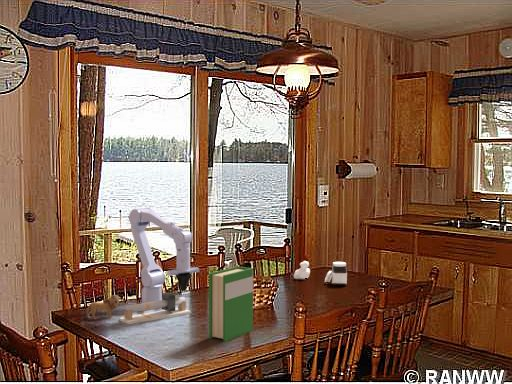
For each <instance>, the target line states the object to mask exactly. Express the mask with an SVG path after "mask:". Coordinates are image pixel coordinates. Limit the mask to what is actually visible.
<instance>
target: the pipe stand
mask: <svg viewBox="0 0 512 384" xmlns="http://www.w3.org/2000/svg"><path fill="white" fill-rule="evenodd" d="M186 302H187V300H186V298H185V296H182V297H181V296H180V297H175V306H177V307H175V311H171V312H168V311H166V310H163V309H162V307H168V300H167V299H166V300H160V301H154V302H146V303H142V302H141V303H135V304H129V305H124V308H123V309H124V312H123V313H124V315H123V317H119V321H120V322H122V323H124V324H126V325H133V324H139V323H143V322H144V323H146V322H150V321H154V320H155V321H156V320H160V319H167V318H173V317H177V316H179V317H180V316H183V315H184V316H185V315H191V313H192V312H191V310H189V309H187V303H186ZM155 309H162V310H158V311H152V312H144V313H139V314H134V315H133V313H137V312H143V311H149V310H155Z"/></svg>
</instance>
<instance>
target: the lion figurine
mask: <svg viewBox="0 0 512 384" xmlns="http://www.w3.org/2000/svg"><path fill="white" fill-rule="evenodd" d="M119 305H120V296H119V295H118V294H113V295H111V296H110V297H109V298H107V299H106V300H105V301H103V302H97V301H94V302H93V301H92V302H90V304H89V305H88V306H87V310H86V314H85V316H83V319H91V317H92V318H93V320H98V317H97V316H96V312H97V311H99V312H106V316H107V318H109V319H113V316H112V314H113V313H112V311H115V310H116V309H117V307H119ZM90 315H91V316H90Z"/></svg>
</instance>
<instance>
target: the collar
mask: <svg viewBox="0 0 512 384" xmlns="http://www.w3.org/2000/svg"><path fill="white" fill-rule="evenodd" d="M175 298H176V294H173V293H171V292H164V293H162V300H166V299H167V300H168V307H162V308H161V310H162V311H163V310H166V311H168V312H171V311H175V308H176V305H175Z"/></svg>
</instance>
